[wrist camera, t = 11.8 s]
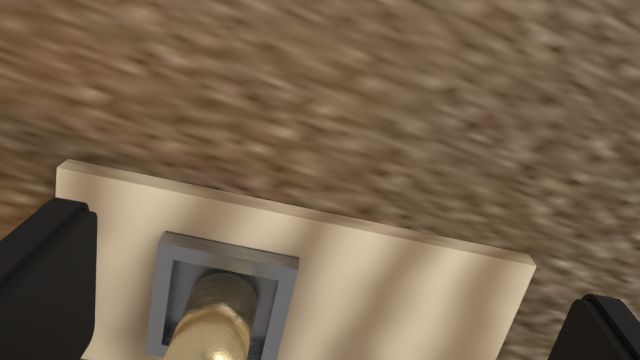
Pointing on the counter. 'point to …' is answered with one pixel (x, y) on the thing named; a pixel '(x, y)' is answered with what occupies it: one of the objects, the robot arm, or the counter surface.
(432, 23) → the counter surface
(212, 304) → the hinge barrel
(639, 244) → the counter surface
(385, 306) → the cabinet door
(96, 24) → the counter surface
